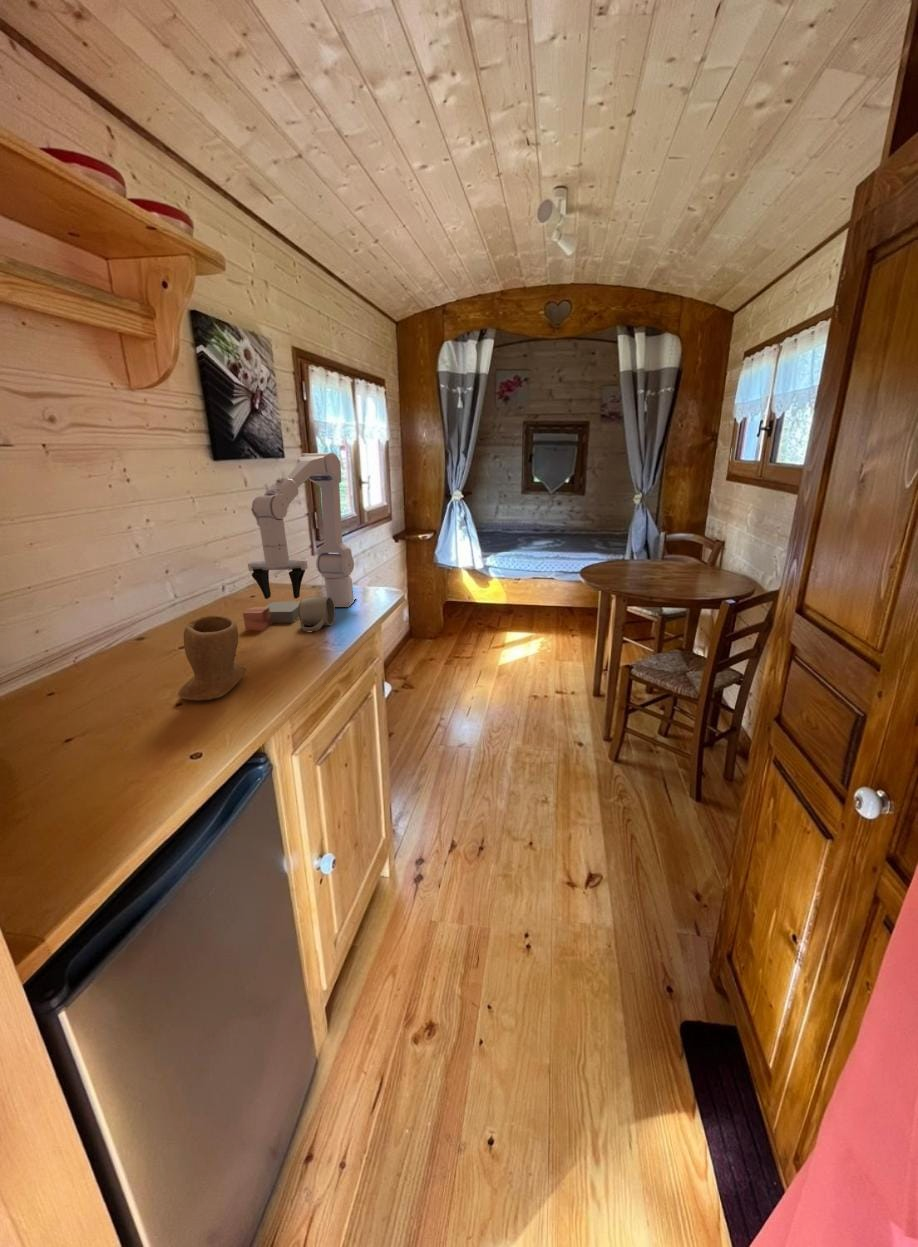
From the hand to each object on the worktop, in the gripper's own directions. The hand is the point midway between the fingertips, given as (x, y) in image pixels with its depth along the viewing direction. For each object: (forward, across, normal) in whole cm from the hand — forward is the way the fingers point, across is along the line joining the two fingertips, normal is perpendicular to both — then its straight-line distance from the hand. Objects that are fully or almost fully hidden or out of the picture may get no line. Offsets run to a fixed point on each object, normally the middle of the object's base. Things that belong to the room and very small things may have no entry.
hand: (282, 597), depth 139 cm
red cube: (+10, -10, +4) cm, 14 cm away
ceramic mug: (+10, +6, +5) cm, 13 cm away
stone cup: (+10, -1, -34) cm, 35 cm away
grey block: (+10, -6, +13) cm, 18 cm away
